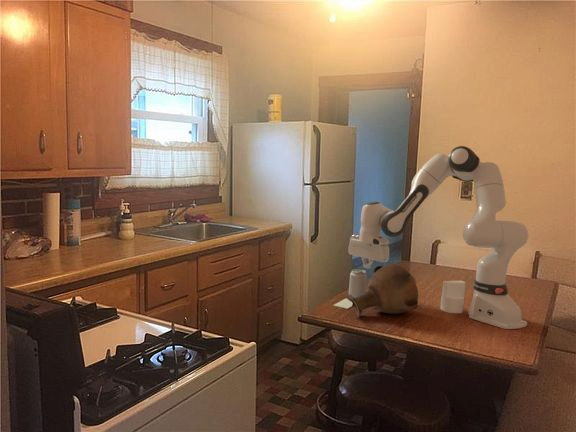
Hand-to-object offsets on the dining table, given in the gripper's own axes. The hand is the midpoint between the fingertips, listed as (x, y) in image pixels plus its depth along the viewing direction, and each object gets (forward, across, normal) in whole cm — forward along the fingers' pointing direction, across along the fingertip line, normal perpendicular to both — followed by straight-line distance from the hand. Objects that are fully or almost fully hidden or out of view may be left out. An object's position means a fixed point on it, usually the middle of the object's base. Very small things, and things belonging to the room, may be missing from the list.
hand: (366, 267), depth 227 cm
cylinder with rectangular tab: (+11, +37, +9) cm, 40 cm away
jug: (+11, +22, -19) cm, 31 cm away
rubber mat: (+11, +6, -21) cm, 25 cm away
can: (+12, +2, -10) cm, 15 cm away
